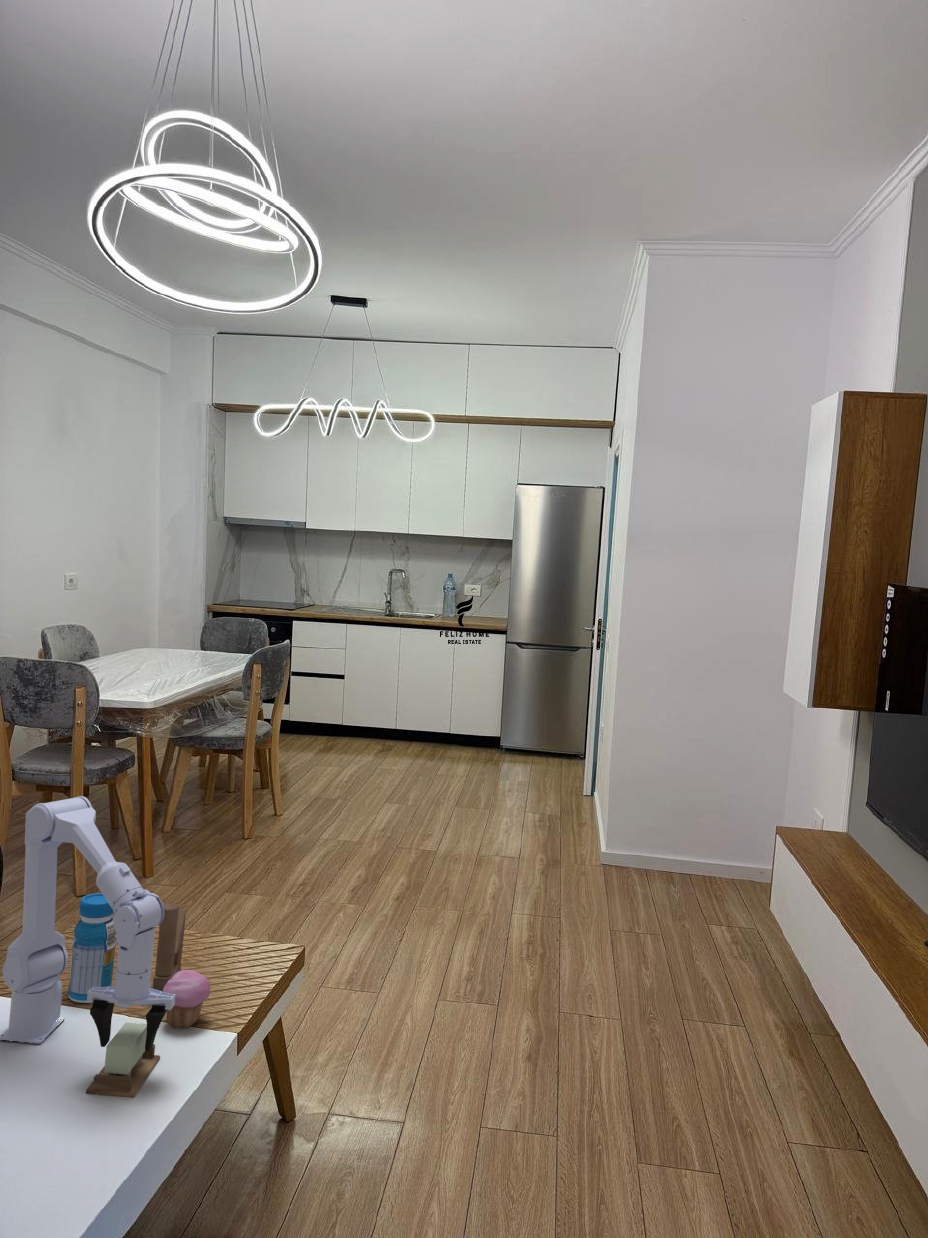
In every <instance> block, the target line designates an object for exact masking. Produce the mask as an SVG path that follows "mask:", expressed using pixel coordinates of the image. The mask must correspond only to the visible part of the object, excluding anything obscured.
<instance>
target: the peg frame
mask: <svg viewBox="0 0 928 1238" xmlns="http://www.w3.org/2000/svg"><path fill="white" fill-rule="evenodd" d="M155 1050H156V1044H155V1043H154V1044H153V1046H152V1048H151V1049H150V1051H145V1052H144V1053H143V1054H142V1056H141V1057H140V1059H139V1060H138V1061H137V1063H136V1064H135V1065H134V1067H133V1068H132V1070H131V1071H130V1072H129V1074H128V1075H127V1074H116V1073H104V1069H105V1065H104V1066H103V1067H102V1069H101V1070H100V1071H99V1072H98V1073H96V1074H95V1075H94V1076H93V1080H92V1081H91V1083H90V1084H89V1085H88V1087H87V1088H86V1089H85V1094H91V1095H102V1096H113V1097H127V1098H135V1097H136V1095H137V1094H138V1092H139V1091H140V1089H141V1088H142V1086H143V1085H144V1083H145V1082H146V1080H147V1079H148V1077H149V1076H150V1075H151V1073H152V1071H154V1068H156V1066H157V1064H158V1063H159V1061H160V1059H161V1055H159V1054H158V1055H156V1053H155Z"/></svg>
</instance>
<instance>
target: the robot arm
mask: <svg viewBox="0 0 928 1238" xmlns="http://www.w3.org/2000/svg"><path fill="white" fill-rule="evenodd" d="M96 817H97V811H96V810H95V809H94V808H93V805H92V804H91V802H90V800H89V799H88V798H87V797H86V796H83V795H79V796H75V797H71V798H65V799H62V800H61V799H60V800H56V801H54V800H53V801H49V802H44V803H43V802H39V803H36V804H34V805H33V806H32V807H31V808H30V809H29V810H28V811H27V812H25V827H24V828H25V829H24V830H25V831H24V845H25V853H24V854H25V855H24V877H23V878H24V879H23V881H24V882H23V883H24V884H23V903H22V904H23V909H22V931H21V934H19V936H17V938H16V939H14V941H13V942H12V943H11V944H10V945H9V946H8V947H7V953H6V959H5V961H4V963H3V966H2V967H3V968H2V978H3V982H4V983H5V985H6V987H8V989H9V990H11V996H10V997H11V998H10V1007H9V1008H10V1010H9V1022H8V1028H6V1029H5V1030H4V1031H3V1032H2V1033H1V1034H0V1041H1V1040H6V1041H5V1042H8V1041H7V1040H10V1041H9V1042H12V1041H19V1042H18V1043H24V1042H25V1043H24V1044H26V1042H28V1043H27V1044H37V1045H39V1044H40V1045H41V1044H42V1043H43V1042H44V1041H45V1040H46V1039H47V1038H48V1037H49V1036H50V1035H51V1034H52V1033H53V1032H54V1031H55V1030H56V1029H57V1028H58V1027H59V1026H58V1024H59V1023H60V1022H61V1021H58V1020H59V1019H58V1018H59V1017H60V1016H61V1009H62V995H63V984H62V981H61V979H60V977H61V975H62V974H64V973H65V971H66V970H67V967H68V964H69V955H68V951H67V947H66V937H65V936H64V935H63V934H61V933H60V932H58V931H57V930H55V925H56V902H57V900H56V897H57V876H58V875H57V874H58V873H57V870H58V869H57V868H58V849H59V847H60V845H61V844H63V843H67V844H68V843H69V844H73V845H74V846H75V847H76V849H77V850H78V851H79V852H80V853H81V855H82V856H83V857H84V859H86V861H87V862H88V863H89V865H90V866H91V867H92V869H93V870H94V871H95V872H96V875H97V876H96V878H95V879H96V881H95V885H96V887H97V888H98V890H99V891H100V893H102V894H103V896H104V897H105V899H106V900H107V902H108V903H109V905H110V906H111V908H112V909H113V911H114V914H115V915H112V918H113V924H114V927H115V929H116V936H115V938H116V945H118V950H117V960H116V970H115V979H114V980H115V982H114V985H113V986H112V987H92V988H91V989H90V990H89V991H88V994H87V1003H86V1004H92V1007H90V1009H89V1014H90V1016H91V1018H92V1019H93V1021H94V1024H95V1025H96V1029H97V1033H98V1037H99V1043H100V1044H99V1045H100V1048H101V1047H102V1048H105V1047H107V1045H108V1044H109V1042H110V1041H111V1040H110V1039H111V1031H112V1019H113V1018H112V1017H113V1012H114V1007H115V1005H116V1006H117V1007H118V1008H123V1009H126V1008H130V1007H132V1006H139V1007H151V1008H150V1009H149V1010H148V1011H147V1013H146V1015H145V1020H146V1021H145V1022H146V1024H147V1035H146V1042H145V1051H150V1049H151V1048H152V1046H153V1044H154V1045H155V1039H156V1036H157V1033H158V1030H159V1028H160V1025H161V1023H162V1021H163V1019H164V1017H165V1015H166V1014H167V1010H171V1009H172V1008H173V1006H174V1005H175V994H170V993H165V992H162V991H158V990H155V989H153V988H151V980H152V978H151V977H152V970H153V958H154V957H153V956H154V945H155V935H156V928H157V926H159V925H160V924H161V922H162V920H163V918H164V907H163V905H164V904H163V902H162V900H161V898H160V896H159V895H157V894H156V893H152V892H151V891H149V890H148V889H144V888H143V886H142V885H141V883H140V882H139V881H138V879H137V878H136V876H135V874H134V873H133V872H132V870H131V868H130V867H129V866H128V864H127V863H125V862H118V861H116V859H115V858H114V856H113V853H112V852H111V850H110V849H109V846H108V845H107V844H106V841H105V840H104V837H103V836H102V834H101V833H100V831H99V829H98V826H97V825H96V824H95V823H96V819H97V818H96ZM57 1019H58V1020H57ZM56 1020H57V1022H56ZM60 1020H61V1019H60ZM57 1026H58V1027H57ZM56 1027H57V1028H56ZM55 1028H56V1029H55ZM54 1029H55V1030H54ZM53 1030H54V1031H53ZM52 1031H53V1032H52ZM51 1032H52V1033H51ZM50 1033H51V1034H50ZM49 1034H50V1035H49ZM48 1035H49V1036H48ZM47 1036H48V1037H47ZM46 1037H47V1038H46ZM45 1038H46V1039H45ZM11 1040H12V1041H11Z"/></svg>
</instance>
